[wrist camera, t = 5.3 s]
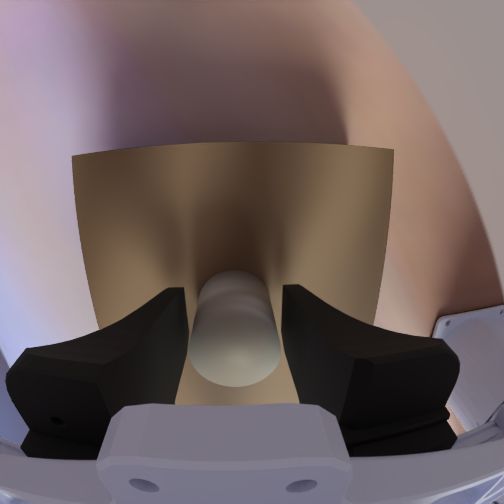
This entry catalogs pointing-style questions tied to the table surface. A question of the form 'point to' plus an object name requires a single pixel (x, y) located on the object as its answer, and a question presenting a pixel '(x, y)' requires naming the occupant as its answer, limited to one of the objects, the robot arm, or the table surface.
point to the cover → (234, 247)
